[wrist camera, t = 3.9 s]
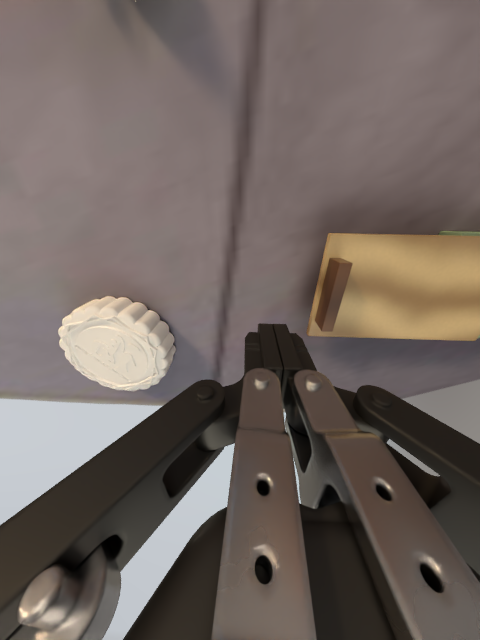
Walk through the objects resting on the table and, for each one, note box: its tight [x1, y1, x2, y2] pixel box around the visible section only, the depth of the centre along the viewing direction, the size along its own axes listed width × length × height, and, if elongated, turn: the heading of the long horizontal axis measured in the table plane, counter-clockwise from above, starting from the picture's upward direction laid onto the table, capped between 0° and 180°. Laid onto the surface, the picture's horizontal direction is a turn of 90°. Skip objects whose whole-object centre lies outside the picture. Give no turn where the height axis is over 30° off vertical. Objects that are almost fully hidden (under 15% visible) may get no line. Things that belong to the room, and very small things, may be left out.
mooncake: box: [58, 296, 176, 391], centre depth 22 cm, size 12×12×4 cm
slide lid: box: [307, 233, 480, 341], centre depth 16 cm, size 10×17×3 cm, turn 89°
